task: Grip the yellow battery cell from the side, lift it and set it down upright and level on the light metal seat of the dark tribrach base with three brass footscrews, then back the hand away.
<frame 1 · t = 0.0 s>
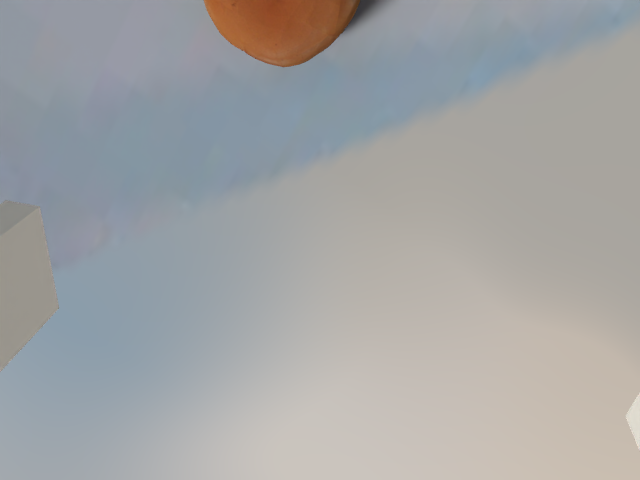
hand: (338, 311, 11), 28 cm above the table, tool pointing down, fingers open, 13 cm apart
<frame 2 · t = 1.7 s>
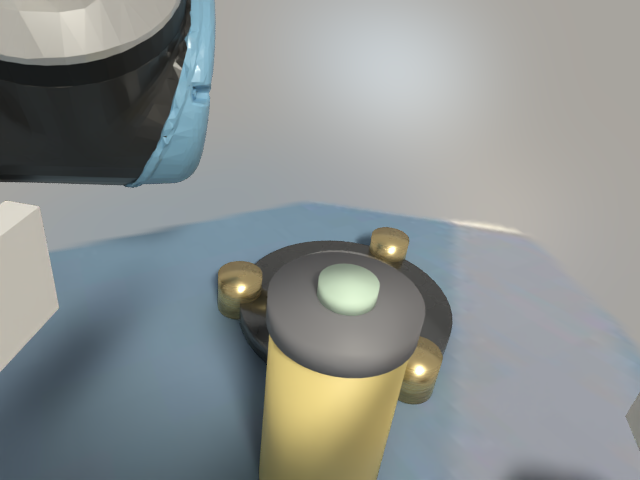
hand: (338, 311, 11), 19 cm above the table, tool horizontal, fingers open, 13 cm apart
yellow battery cell: (317, 472, 30), on the table
tribrach: (343, 313, 42), on the table
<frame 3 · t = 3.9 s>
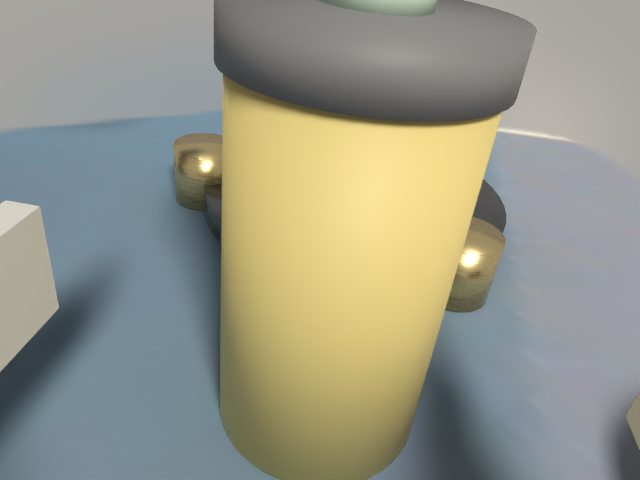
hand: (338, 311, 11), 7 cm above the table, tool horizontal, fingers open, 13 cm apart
yellow battery cell: (316, 400, 18), on the table
tribrach: (351, 208, 30), on the table
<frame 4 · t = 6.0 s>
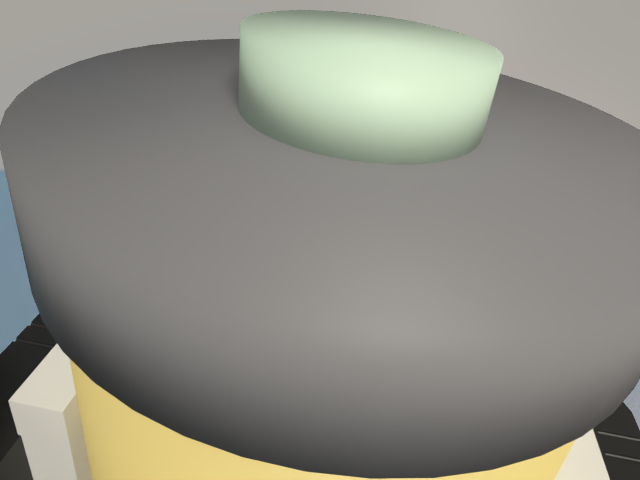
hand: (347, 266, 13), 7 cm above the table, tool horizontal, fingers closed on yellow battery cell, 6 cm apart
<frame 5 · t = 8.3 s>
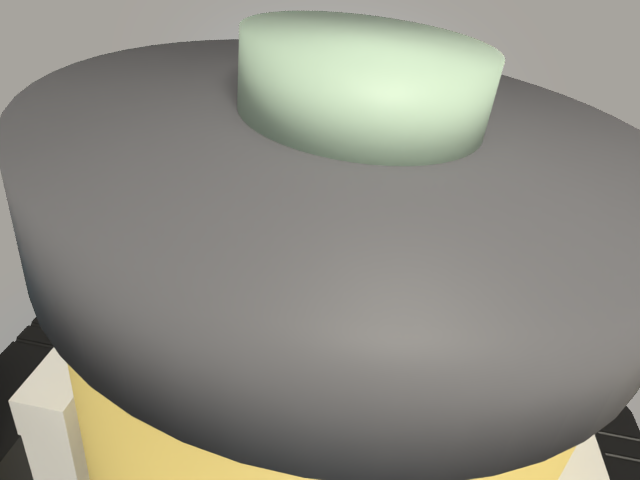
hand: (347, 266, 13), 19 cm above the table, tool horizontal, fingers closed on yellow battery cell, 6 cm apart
when the fingers open (11 cm above the table, at t = 10.5 s): yellow battery cell drops 1 cm, resting on tribrach.
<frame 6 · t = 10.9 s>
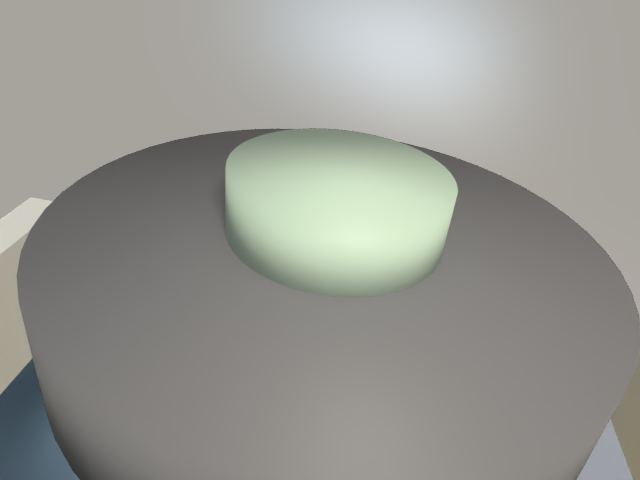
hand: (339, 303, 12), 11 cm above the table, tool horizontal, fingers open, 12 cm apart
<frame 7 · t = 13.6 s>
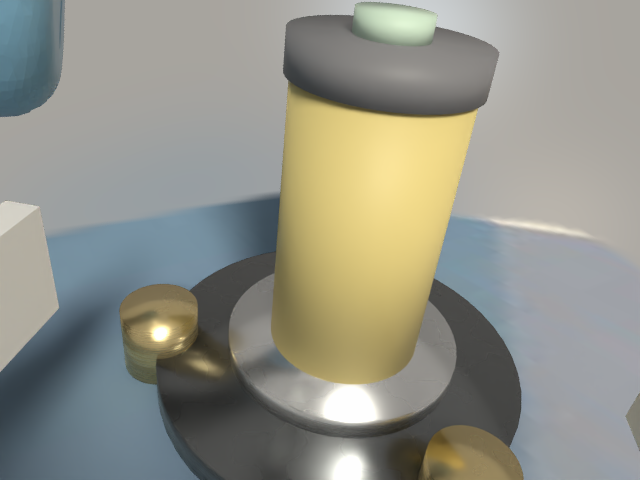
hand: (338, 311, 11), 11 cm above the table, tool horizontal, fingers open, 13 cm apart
yellow battery cell: (343, 329, 24), point 3 cm above the table, touching tribrach
tribrach: (336, 369, 25), on the table
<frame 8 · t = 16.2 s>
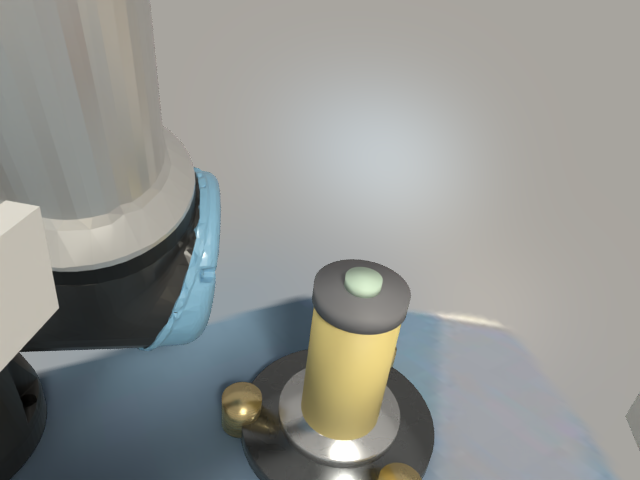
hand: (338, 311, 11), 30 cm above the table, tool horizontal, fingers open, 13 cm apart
yellow battery cell: (339, 407, 44), point 3 cm above the table, touching tribrach
tribrach: (336, 427, 46), on the table
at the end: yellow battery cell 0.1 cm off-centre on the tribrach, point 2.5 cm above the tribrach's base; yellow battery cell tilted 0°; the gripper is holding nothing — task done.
